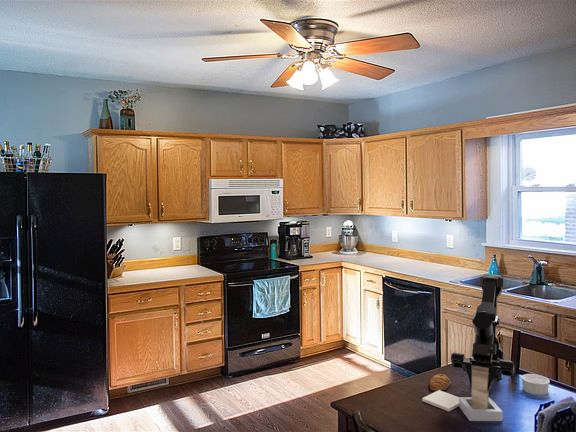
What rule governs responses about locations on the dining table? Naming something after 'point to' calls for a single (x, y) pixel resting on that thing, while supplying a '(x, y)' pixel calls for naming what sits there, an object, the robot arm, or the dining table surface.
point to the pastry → (439, 382)
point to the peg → (480, 387)
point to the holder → (480, 410)
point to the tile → (442, 400)
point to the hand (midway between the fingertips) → (479, 389)
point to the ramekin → (535, 384)
